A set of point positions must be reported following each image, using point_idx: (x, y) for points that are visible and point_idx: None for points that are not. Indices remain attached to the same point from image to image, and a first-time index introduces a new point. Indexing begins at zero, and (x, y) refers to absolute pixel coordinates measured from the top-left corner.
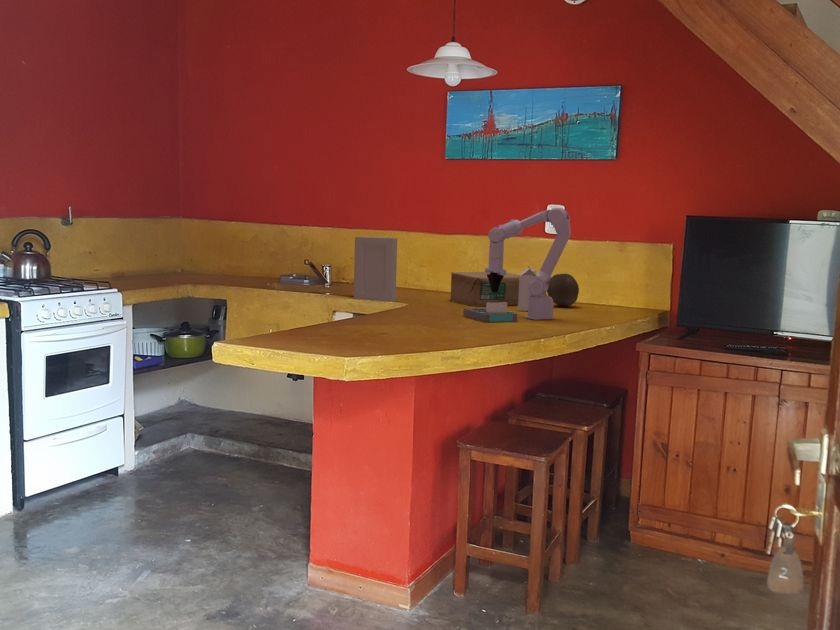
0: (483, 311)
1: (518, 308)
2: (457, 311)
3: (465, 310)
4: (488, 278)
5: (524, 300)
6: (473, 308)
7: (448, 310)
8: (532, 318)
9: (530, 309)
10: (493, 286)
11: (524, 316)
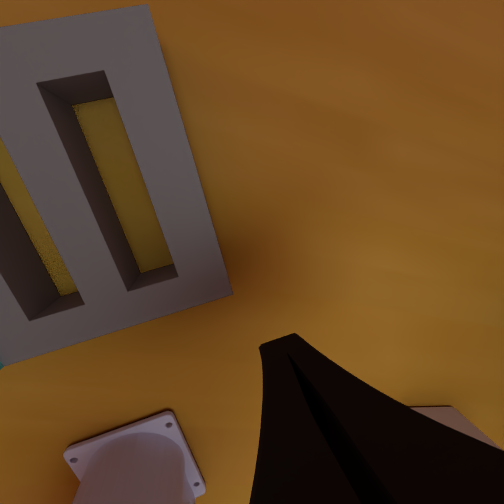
0: (19, 167)
1: (432, 411)
2: (402, 84)
3: (107, 18)
4: (502, 464)
5: None
6: (180, 117)
7: (449, 31)
8: (72, 448)
9: (92, 490)
10: (268, 403)
11: (156, 417)
